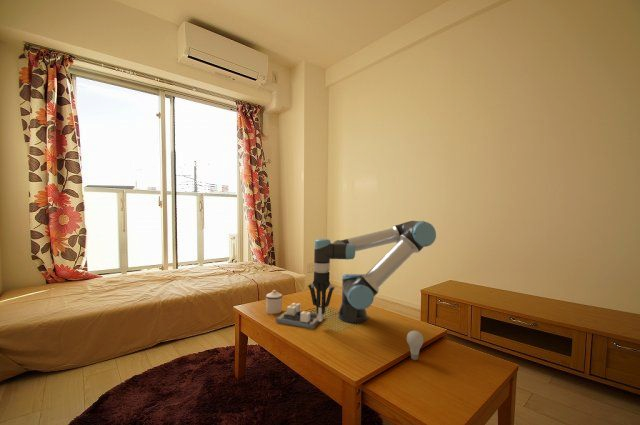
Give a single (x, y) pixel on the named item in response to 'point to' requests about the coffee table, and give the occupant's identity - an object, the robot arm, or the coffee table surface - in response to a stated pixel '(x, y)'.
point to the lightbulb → (414, 343)
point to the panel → (298, 320)
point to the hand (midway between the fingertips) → (320, 320)
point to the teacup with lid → (273, 302)
